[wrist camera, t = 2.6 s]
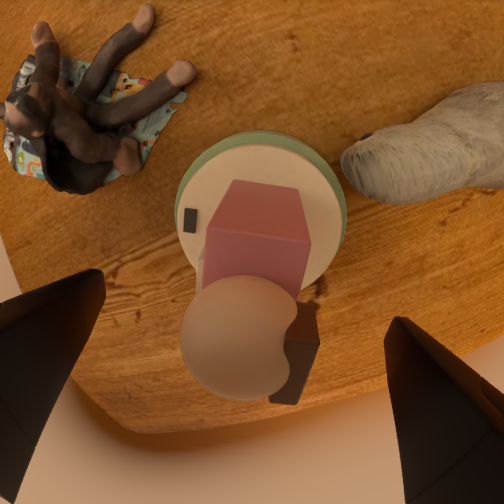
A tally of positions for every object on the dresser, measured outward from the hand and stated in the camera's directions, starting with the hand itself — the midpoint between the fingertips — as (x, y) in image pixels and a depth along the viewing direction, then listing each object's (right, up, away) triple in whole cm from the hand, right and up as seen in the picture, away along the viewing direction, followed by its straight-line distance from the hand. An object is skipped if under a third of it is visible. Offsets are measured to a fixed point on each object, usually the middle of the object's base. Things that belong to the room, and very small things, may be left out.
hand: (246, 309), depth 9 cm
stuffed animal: (-10, +11, +7) cm, 17 cm away
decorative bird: (+12, +9, +6) cm, 16 cm away
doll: (+1, +3, +7) cm, 8 cm away
